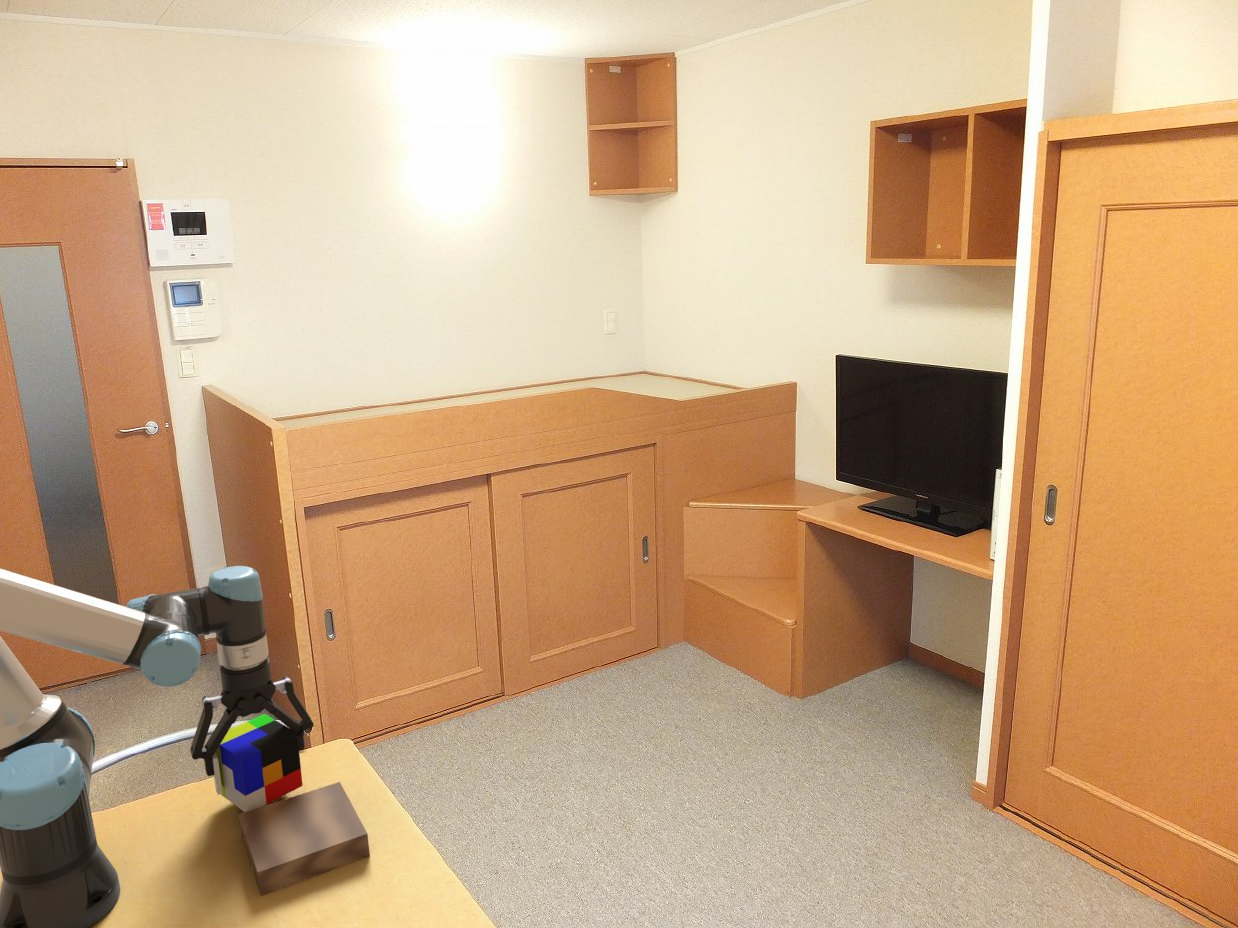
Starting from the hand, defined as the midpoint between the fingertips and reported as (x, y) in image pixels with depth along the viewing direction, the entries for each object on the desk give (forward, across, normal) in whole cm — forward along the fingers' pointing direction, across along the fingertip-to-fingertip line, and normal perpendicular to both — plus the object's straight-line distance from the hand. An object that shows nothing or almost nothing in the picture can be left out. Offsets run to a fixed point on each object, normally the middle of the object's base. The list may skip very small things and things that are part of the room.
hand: (258, 778), depth 156 cm
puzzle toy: (+2, 0, 0) cm, 2 cm away
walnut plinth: (+4, +4, -16) cm, 17 cm away
